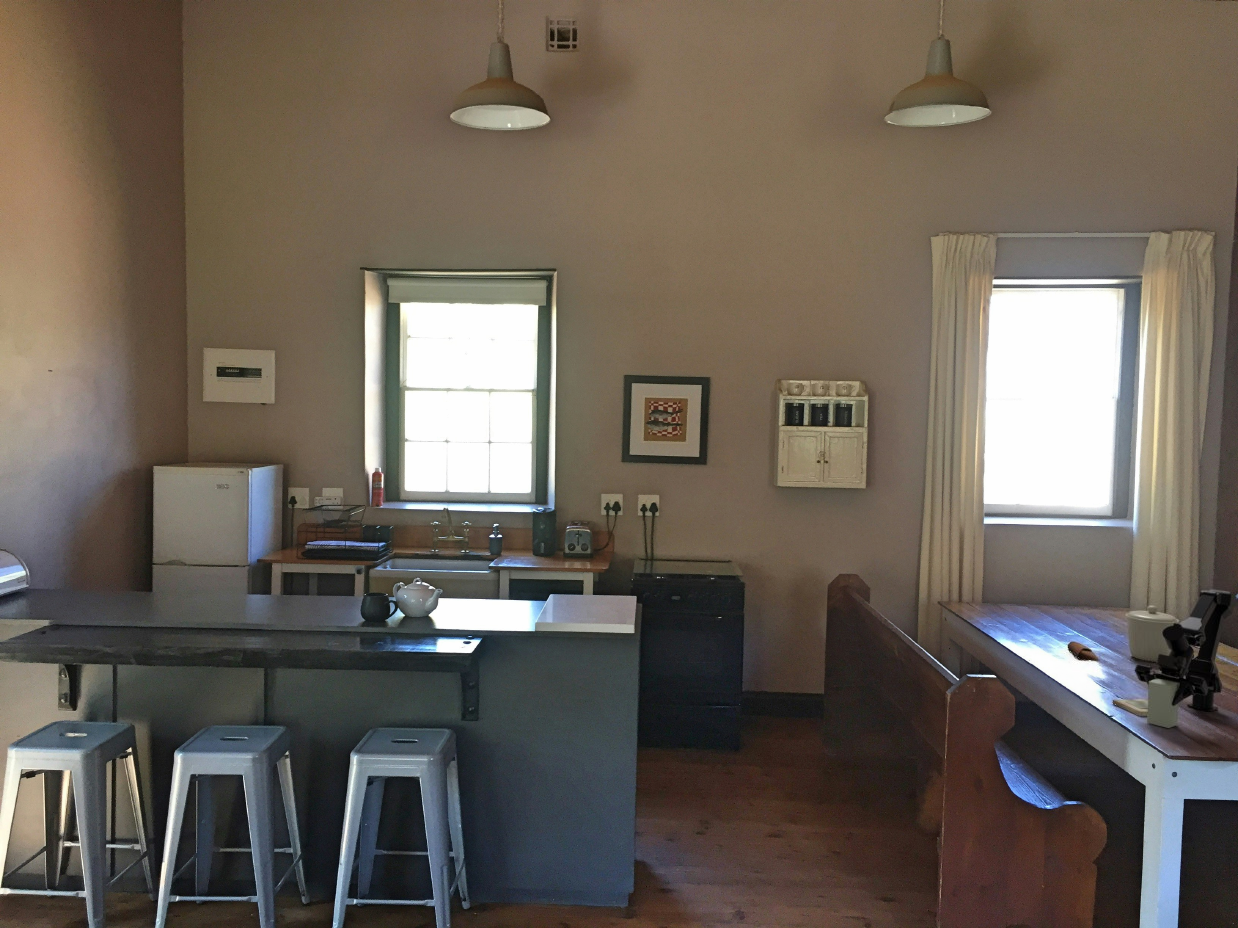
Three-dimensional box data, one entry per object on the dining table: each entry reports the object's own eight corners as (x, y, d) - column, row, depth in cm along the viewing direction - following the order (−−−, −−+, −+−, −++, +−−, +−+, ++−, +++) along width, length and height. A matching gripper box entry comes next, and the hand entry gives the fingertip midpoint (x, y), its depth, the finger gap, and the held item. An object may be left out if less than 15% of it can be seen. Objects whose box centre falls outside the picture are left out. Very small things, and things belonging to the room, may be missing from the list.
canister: (1184, 666, 337) (1188, 611, 336) (1132, 662, 341) (1135, 608, 340) (1165, 655, 355) (1168, 602, 354) (1116, 651, 358) (1119, 599, 358)
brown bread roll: (1101, 661, 341) (1092, 645, 342) (1084, 669, 343) (1075, 653, 344) (1089, 650, 359) (1081, 635, 359) (1073, 657, 360) (1064, 643, 361)
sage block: (1155, 718, 271) (1157, 678, 271) (1177, 724, 266) (1179, 683, 266) (1147, 722, 268) (1148, 681, 267) (1168, 728, 263) (1170, 686, 262)
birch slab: (1145, 704, 288) (1145, 698, 288) (1174, 716, 277) (1174, 710, 276) (1112, 705, 286) (1112, 699, 286) (1139, 717, 275) (1140, 710, 275)
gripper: (1138, 638, 276) (1120, 678, 270) (1206, 651, 261) (1188, 694, 255) (1148, 659, 281) (1131, 699, 275) (1215, 673, 266) (1198, 716, 260)
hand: (1161, 702), depth 266 cm, fingers closed on sage block, 6 cm apart
